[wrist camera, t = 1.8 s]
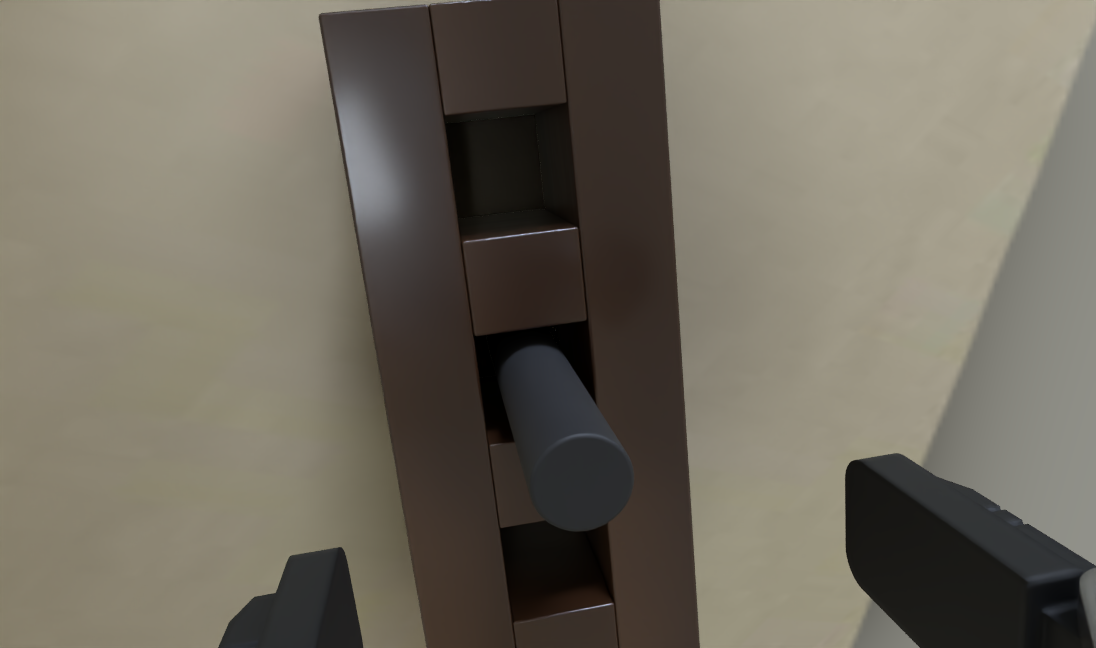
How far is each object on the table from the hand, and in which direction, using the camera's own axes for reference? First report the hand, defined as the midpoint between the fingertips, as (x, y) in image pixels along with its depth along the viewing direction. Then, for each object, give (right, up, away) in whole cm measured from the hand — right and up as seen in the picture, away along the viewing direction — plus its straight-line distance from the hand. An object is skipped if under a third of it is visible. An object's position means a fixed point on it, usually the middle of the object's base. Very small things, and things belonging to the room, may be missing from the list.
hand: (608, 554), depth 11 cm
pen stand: (-2, +3, +14) cm, 14 cm away
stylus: (-2, +3, +14) cm, 14 cm away
